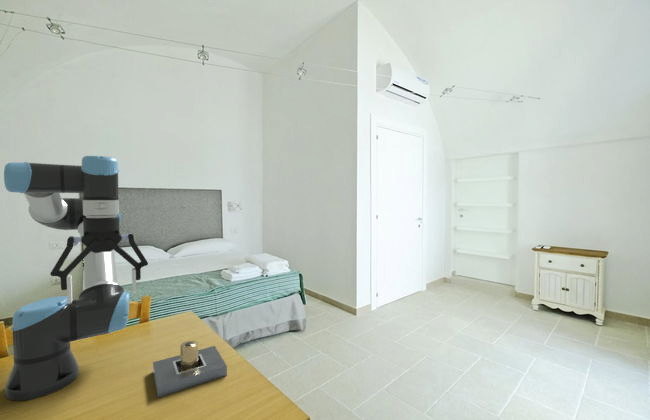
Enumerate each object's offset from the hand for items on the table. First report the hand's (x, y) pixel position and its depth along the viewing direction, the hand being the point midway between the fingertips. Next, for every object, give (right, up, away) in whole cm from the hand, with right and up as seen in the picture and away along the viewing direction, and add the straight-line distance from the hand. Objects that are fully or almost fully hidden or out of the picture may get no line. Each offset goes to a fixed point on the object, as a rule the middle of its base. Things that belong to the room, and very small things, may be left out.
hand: (103, 296), depth 79 cm
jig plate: (+18, -26, +11) cm, 33 cm away
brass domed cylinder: (+18, -26, +11) cm, 33 cm away
